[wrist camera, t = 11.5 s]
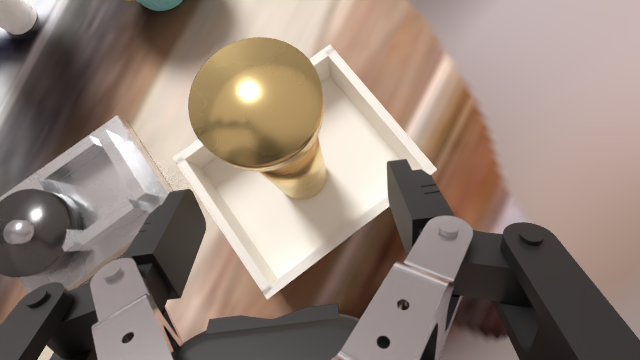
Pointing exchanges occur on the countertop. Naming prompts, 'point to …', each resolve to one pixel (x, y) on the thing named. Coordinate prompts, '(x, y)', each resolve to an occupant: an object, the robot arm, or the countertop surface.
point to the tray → (326, 207)
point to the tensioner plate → (79, 209)
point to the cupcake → (159, 4)
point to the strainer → (16, 16)
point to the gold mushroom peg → (263, 113)
